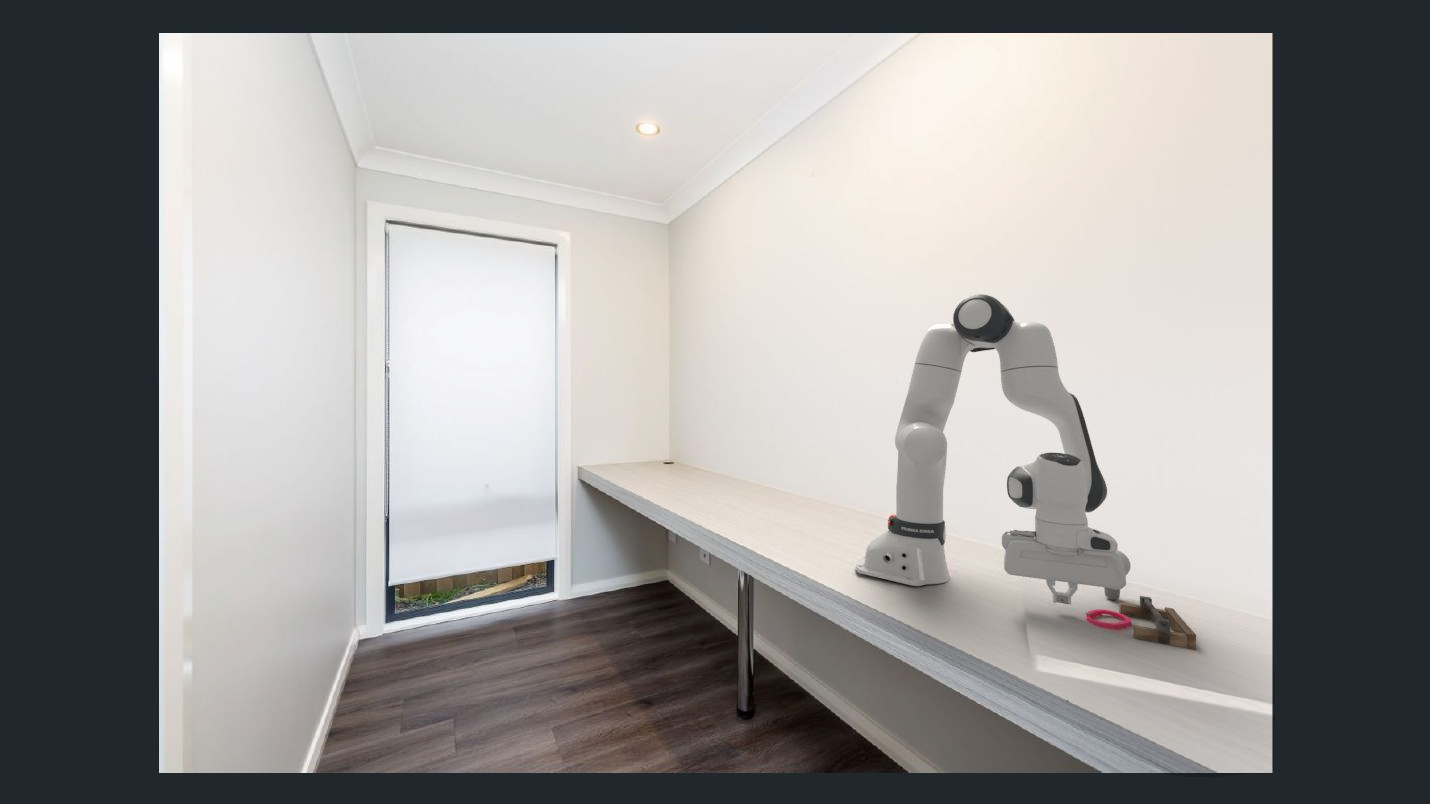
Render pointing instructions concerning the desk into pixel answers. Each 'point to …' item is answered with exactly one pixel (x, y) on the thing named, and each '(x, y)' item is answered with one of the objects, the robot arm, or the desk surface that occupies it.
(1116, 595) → the lightbulb
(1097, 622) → the fitness band
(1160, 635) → the wooden bar clamp
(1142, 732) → the desk surface
